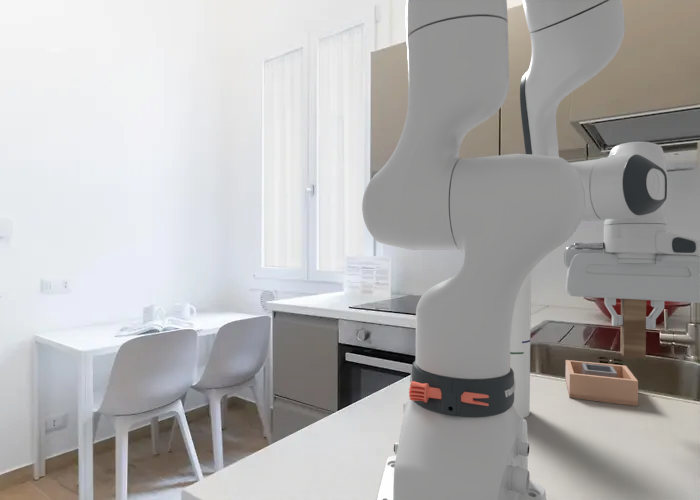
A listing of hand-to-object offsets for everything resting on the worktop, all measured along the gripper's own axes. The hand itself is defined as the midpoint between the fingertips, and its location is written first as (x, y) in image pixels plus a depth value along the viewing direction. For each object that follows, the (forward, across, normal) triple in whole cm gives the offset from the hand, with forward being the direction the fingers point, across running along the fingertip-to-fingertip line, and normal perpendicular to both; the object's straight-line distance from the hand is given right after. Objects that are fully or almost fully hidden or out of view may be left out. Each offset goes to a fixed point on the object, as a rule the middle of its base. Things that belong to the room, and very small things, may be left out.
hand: (633, 327), depth 72 cm
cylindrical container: (+16, -19, -3) cm, 25 cm away
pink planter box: (+15, -3, +14) cm, 21 cm away
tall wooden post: (+5, 0, 0) cm, 5 cm away
